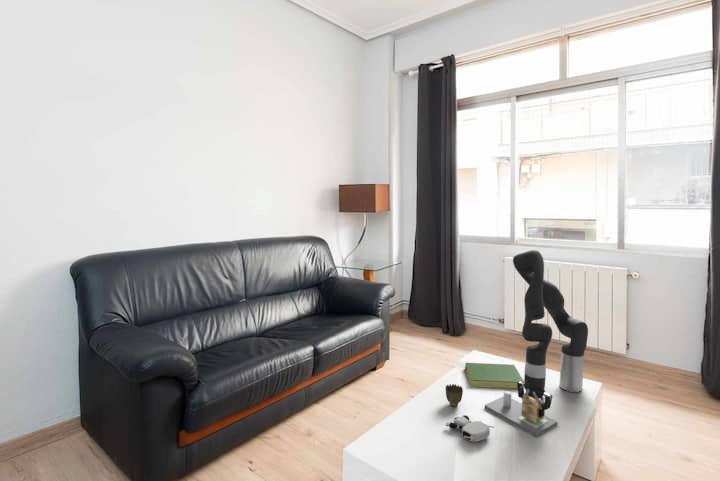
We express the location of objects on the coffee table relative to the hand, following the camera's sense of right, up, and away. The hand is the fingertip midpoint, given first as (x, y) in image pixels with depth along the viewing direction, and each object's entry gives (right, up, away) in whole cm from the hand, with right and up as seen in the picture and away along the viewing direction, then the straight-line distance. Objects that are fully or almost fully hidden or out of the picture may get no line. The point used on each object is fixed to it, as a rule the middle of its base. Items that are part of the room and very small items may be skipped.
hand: (533, 412), depth 155 cm
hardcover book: (-3, 0, +39) cm, 39 cm away
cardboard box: (0, -2, 0) cm, 2 cm away
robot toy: (-27, -6, -5) cm, 28 cm away
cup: (-28, -3, +14) cm, 32 cm away
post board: (-3, -4, +5) cm, 7 cm away
